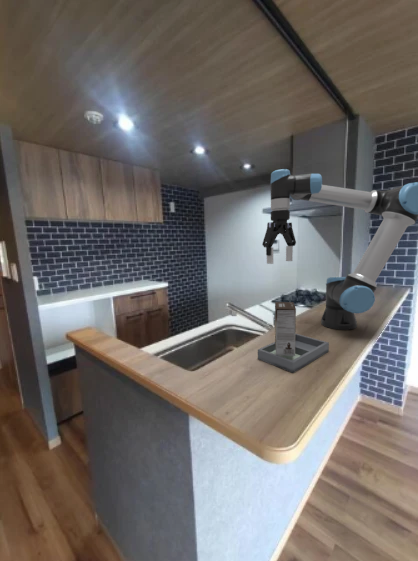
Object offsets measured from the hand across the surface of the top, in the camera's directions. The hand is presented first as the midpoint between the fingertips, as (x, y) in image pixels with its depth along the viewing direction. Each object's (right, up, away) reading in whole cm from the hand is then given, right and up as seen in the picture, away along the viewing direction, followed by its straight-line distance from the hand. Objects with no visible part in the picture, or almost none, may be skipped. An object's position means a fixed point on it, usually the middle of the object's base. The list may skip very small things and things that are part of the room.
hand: (279, 262), depth 110 cm
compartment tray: (+1, -34, -16) cm, 38 cm away
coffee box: (-4, -32, -20) cm, 38 cm away
